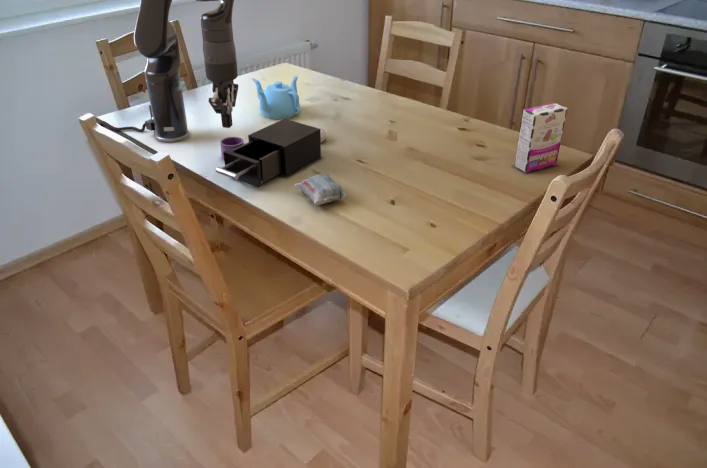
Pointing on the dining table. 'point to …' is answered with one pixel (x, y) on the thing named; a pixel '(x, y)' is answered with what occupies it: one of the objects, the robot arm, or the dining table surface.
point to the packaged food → (321, 189)
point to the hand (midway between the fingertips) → (227, 126)
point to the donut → (322, 131)
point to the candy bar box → (540, 137)
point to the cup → (230, 144)
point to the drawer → (253, 163)
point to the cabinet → (292, 143)
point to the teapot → (278, 99)
